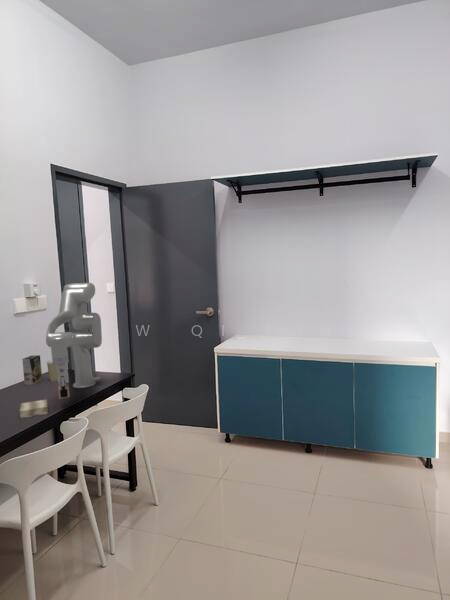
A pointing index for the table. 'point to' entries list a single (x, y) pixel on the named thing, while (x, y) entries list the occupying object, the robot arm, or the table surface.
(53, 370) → the coffee cup
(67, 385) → the terracotta cube
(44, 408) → the birch block
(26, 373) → the coffee box
